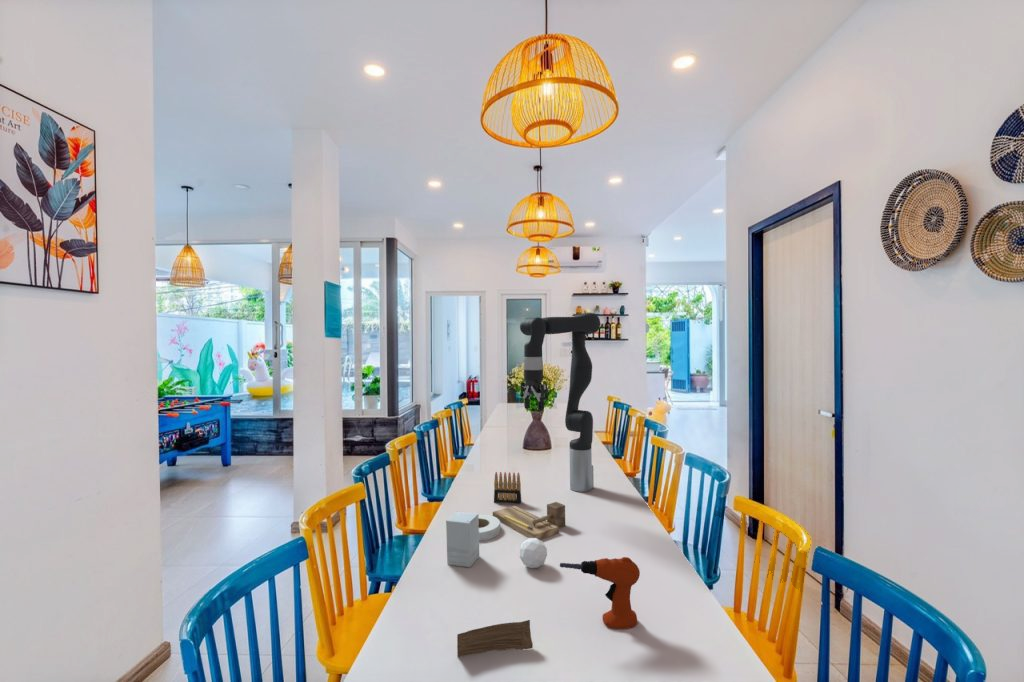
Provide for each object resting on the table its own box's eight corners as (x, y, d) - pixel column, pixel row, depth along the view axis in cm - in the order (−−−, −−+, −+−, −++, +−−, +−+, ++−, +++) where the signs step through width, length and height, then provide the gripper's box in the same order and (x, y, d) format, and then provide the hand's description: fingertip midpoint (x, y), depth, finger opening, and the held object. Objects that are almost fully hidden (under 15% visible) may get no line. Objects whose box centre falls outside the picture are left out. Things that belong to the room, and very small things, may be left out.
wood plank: (458, 662, 90) (457, 637, 90) (457, 655, 92) (456, 630, 92) (532, 648, 93) (532, 624, 93) (529, 642, 95) (529, 618, 95)
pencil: (505, 517, 157) (505, 515, 157) (532, 529, 147) (532, 527, 147) (503, 518, 156) (503, 515, 156) (530, 530, 146) (530, 527, 146)
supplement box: (480, 556, 133) (479, 513, 133) (469, 568, 126) (469, 523, 126) (457, 552, 136) (456, 510, 136) (446, 564, 129) (445, 520, 129)
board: (515, 511, 168) (514, 505, 168) (558, 532, 149) (558, 526, 149) (492, 517, 162) (492, 511, 162) (534, 541, 143) (534, 534, 143)
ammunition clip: (521, 502, 177) (521, 471, 177) (520, 503, 175) (520, 472, 175) (494, 501, 179) (494, 470, 179) (493, 502, 177) (493, 472, 177)
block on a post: (556, 521, 158) (556, 501, 158) (565, 525, 154) (565, 505, 154) (529, 530, 151) (529, 509, 151) (537, 535, 147) (537, 513, 147)
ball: (540, 577, 126) (552, 561, 122) (514, 569, 125) (525, 553, 121) (540, 552, 133) (551, 536, 129) (515, 545, 132) (525, 528, 128)
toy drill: (552, 612, 103) (559, 546, 103) (632, 618, 104) (639, 553, 104) (555, 625, 98) (563, 557, 98) (639, 632, 99) (647, 564, 99)
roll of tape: (445, 536, 148) (444, 527, 148) (470, 519, 162) (470, 511, 162) (485, 545, 141) (485, 536, 141) (508, 527, 155) (508, 518, 155)
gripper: (552, 368, 174) (553, 411, 174) (529, 367, 185) (530, 406, 185) (537, 369, 169) (538, 413, 169) (514, 368, 181) (515, 408, 181)
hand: (533, 409), depth 177 cm, fingers open, 8 cm apart
